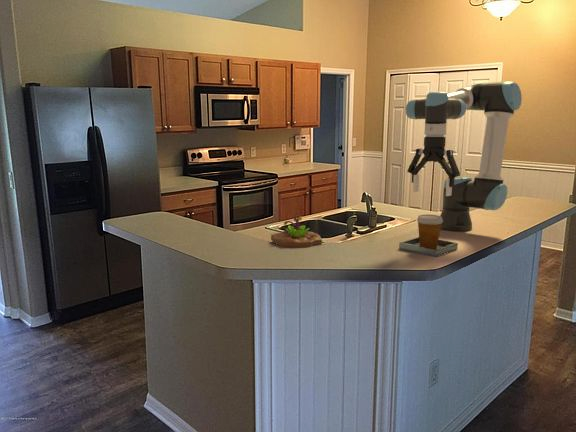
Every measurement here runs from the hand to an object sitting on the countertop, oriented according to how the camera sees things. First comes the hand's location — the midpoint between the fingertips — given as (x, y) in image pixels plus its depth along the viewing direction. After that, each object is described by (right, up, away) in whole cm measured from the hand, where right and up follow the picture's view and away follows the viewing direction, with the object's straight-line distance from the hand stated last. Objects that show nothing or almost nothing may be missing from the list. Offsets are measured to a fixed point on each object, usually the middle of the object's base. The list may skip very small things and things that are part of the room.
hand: (431, 193), depth 179 cm
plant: (-50, -19, +17) cm, 56 cm away
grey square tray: (0, -21, +4) cm, 21 cm away
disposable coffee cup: (0, -21, +4) cm, 21 cm away
